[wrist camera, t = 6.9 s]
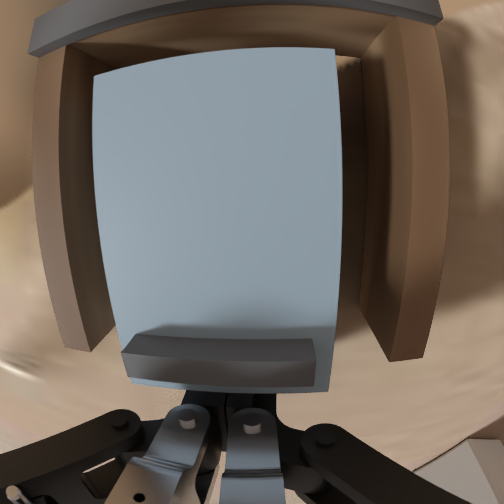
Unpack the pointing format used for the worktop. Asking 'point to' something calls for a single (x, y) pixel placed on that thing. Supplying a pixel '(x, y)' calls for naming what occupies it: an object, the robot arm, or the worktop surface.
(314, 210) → the blue slab with ledge
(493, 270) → the worktop surface
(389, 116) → the bay
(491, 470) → the soap bottle
